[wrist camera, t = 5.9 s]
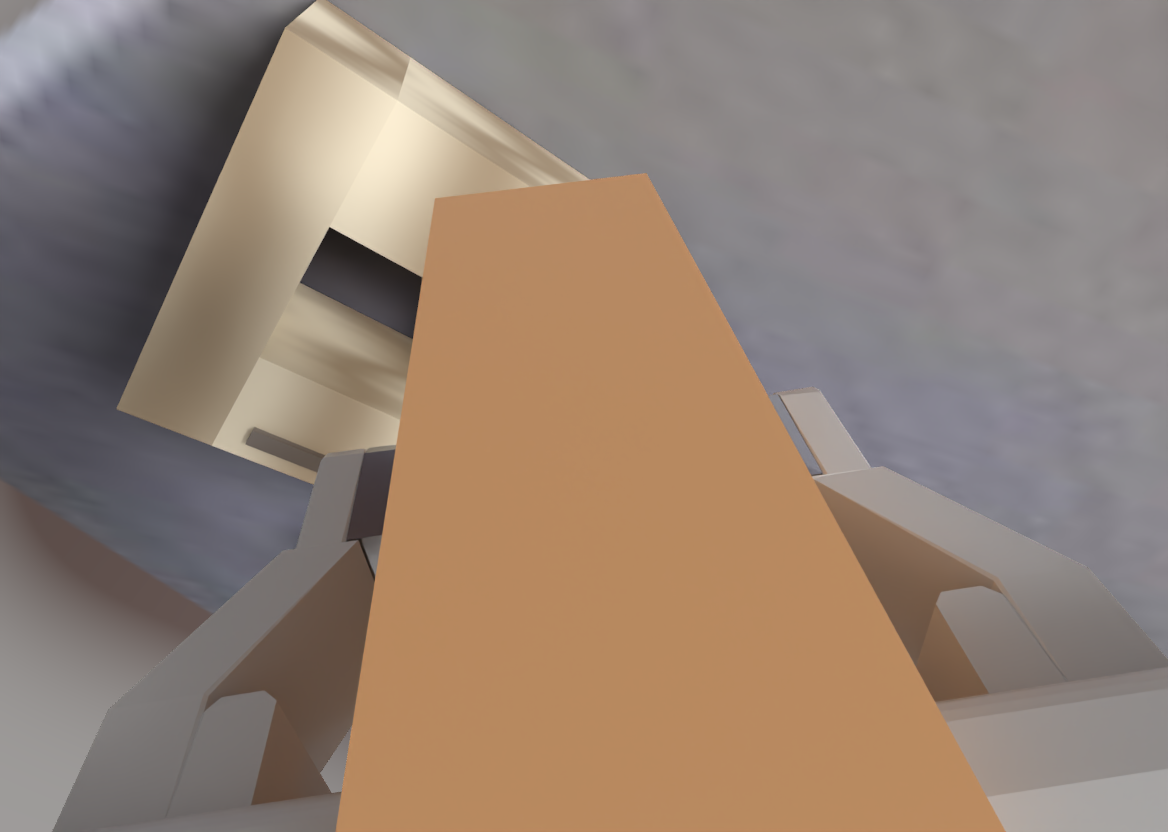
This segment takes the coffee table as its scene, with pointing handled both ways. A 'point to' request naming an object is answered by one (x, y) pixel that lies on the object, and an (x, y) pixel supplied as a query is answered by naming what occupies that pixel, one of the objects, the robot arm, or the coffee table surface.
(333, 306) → the block
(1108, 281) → the coffee table surface
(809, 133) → the coffee table surface
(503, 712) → the key peg
